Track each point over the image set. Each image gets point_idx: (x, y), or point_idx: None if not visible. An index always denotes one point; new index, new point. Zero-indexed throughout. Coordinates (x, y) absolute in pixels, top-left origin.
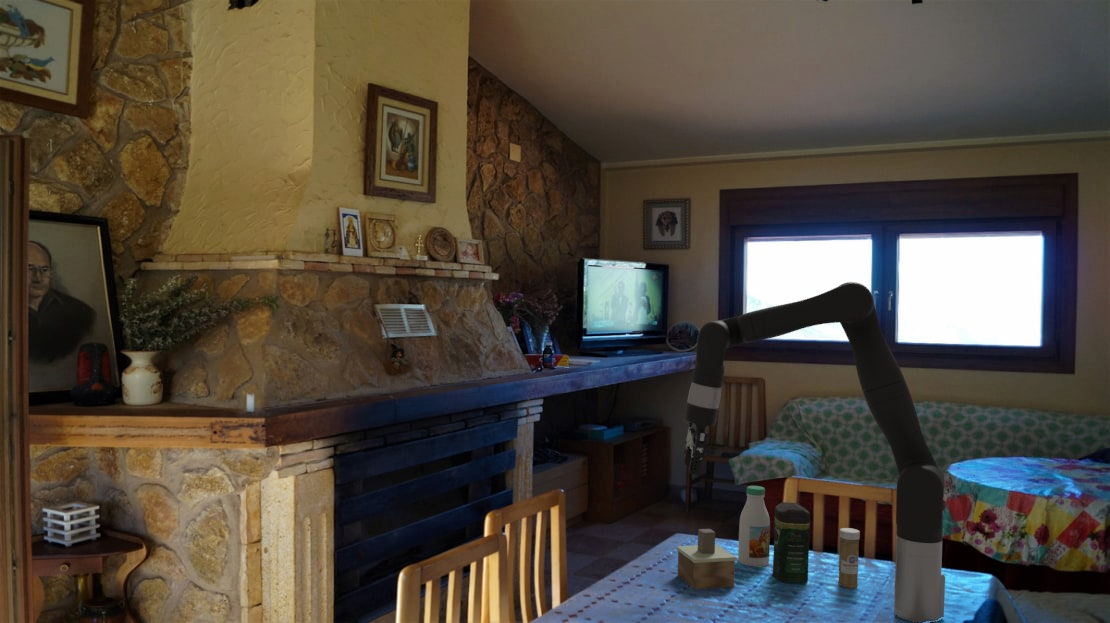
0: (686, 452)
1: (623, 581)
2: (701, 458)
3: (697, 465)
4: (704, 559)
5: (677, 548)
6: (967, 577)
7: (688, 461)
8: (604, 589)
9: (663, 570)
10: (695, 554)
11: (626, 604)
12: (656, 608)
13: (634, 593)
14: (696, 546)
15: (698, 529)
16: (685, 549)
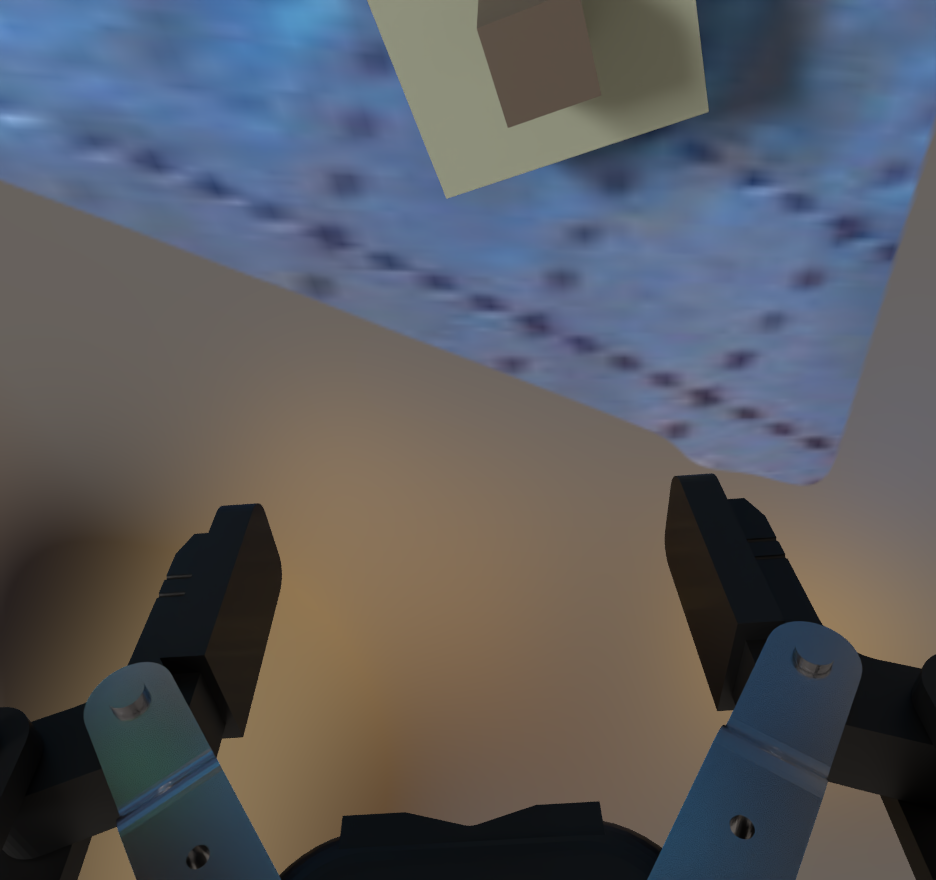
0: (249, 698)
1: (524, 332)
2: (843, 645)
3: (788, 579)
4: (699, 43)
5: (458, 190)
6: None
7: (265, 573)
8: (619, 388)
9: (341, 175)
10: (601, 97)
11: (782, 326)
12: (846, 228)
13: (663, 299)
14: (421, 74)
15: (511, 126)
16: (502, 151)
